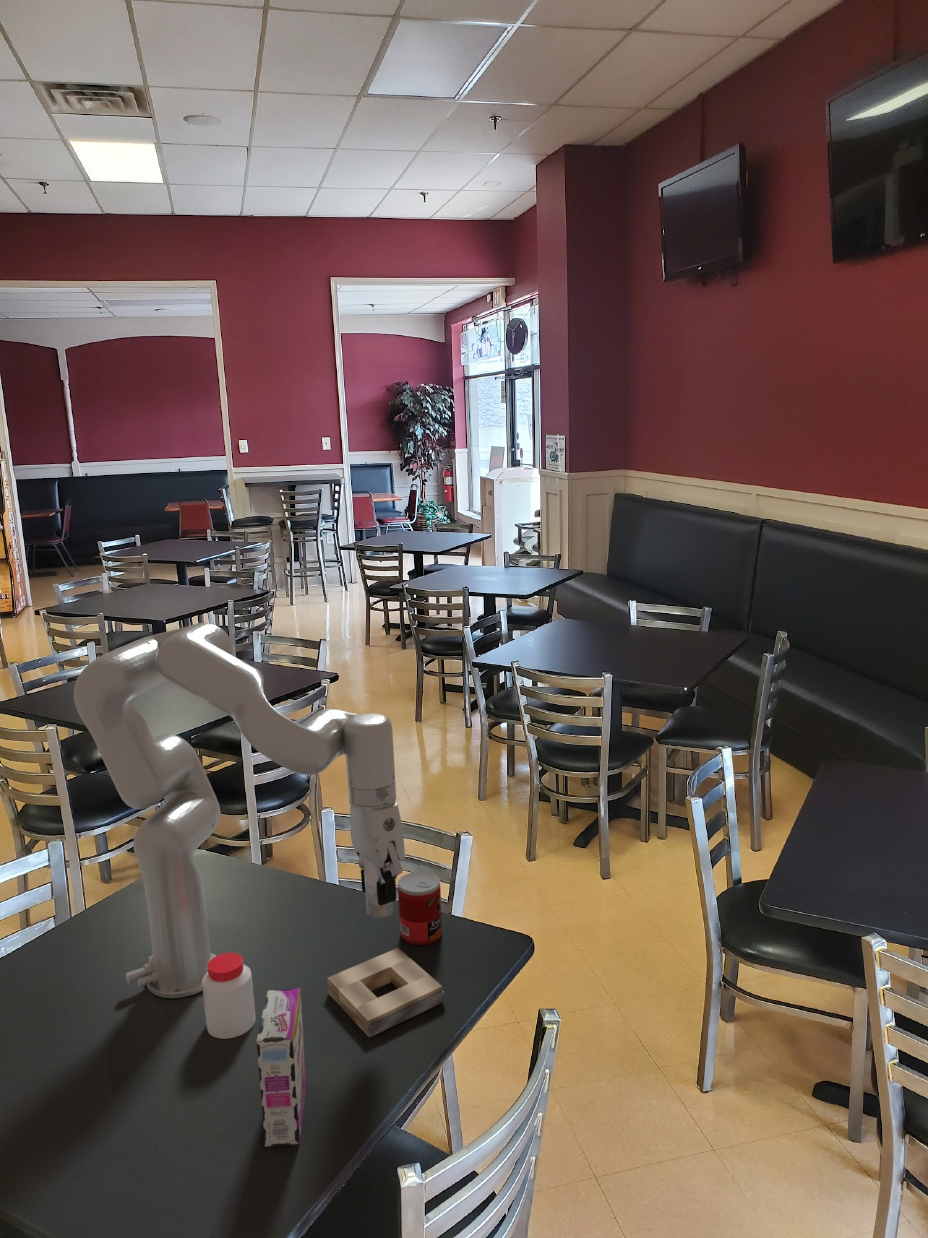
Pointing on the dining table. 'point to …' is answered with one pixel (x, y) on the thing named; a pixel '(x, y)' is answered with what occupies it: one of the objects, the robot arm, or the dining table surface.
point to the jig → (392, 1007)
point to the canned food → (420, 908)
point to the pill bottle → (228, 996)
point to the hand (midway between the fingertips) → (379, 895)
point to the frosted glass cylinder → (374, 891)
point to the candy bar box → (282, 1067)
